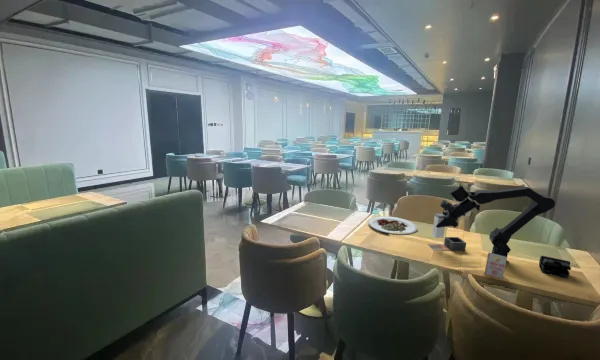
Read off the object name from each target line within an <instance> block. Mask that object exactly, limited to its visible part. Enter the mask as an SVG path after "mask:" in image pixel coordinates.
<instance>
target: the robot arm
mask: <svg viewBox="0 0 600 360" xmlns="http://www.w3.org/2000/svg"><path fill="white" fill-rule="evenodd" d="M449 195H451V197H452V198H453V199H454V200H455V202H459V203H458V204H457V203H455V204H452V203H451V202H449V201H447V200H446V199H442V201H441V202H440V204H439V205H440V208H442V209H443V210H442V214H444V219H443V220H442V221H441V222H440V223H439V224H437V225H436V227H437V228H439V227H445V228H446V227H453V228H457V227H458V226H459V222H458V220H459V219H460V218H461V217H462V216H463V217H465V216H466V214H468V213H469V212H471V211H472V210H474V209H476V210H477V211H478V212H479V211H480V208H481V205H485V204H488V203H491V202H495V201H496V200H505V199H513V198H514V199H515V198H522V197H523V198H524V197H527V198H529V199H531V202H530V203H529V206H528V207H527V208H526V209H525V210H523V211H522V212H521V213H520V214H519V215H518V216H516V217H515V218H514V219H513V220H511V221H510V222H509V223H508V224H506V225H505V226H504V227H502V228H499V227H495V228H494V230H493V231H490V234H489V237H488V238H489V240H490V242H491V243H492V249H491V253H493V254H497V255H501V256H505V257H507V258H508V255H509V253H510V252H511V250H512V249H511V247H510V246H509V245H508V243H509V242H510V240H511V238H512V236H513V235H515V234H516V233H517V232H518V231H519V230H521V228H523V227H525V226H526V225H527V224H528V223H529V222H531V220H533V219H534V218H536V217H537V216H538V215H541V214H544V213H547V212H549V211H550V210H552V209H553V208H555V206H556V202H555V199H553V198H551V197H549V196H547V195H546V194H539V193H538V192H537V191H534V190H533V189H532V188H530V187H529V186H522V187H514V188H507V189H499V190H489V189H478V190H475V191H467V190H466V189H465V188H464V186H463V185H462V184H460V185H458V186H455V187H453V188H451V190H449ZM506 264H510V260H507V259H506Z"/></svg>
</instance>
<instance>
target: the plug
mask: <svg viewBox="0 0 600 360" xmlns="http://www.w3.org/2000/svg"><path fill="white" fill-rule="evenodd" d="M443 219H444V214H443V213H434V219H433V226H432V227H433V228H432V234H431V235H432V236H433V237H435V238H436V239H438V238H439V239H443V238H444V236H445V228H446V227H439V228H437V227H436V225H437V224H439V223H440V222H441V221H442V220H443Z"/></svg>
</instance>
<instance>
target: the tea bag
mask: <svg viewBox="0 0 600 360" xmlns="http://www.w3.org/2000/svg"><path fill="white" fill-rule="evenodd" d="M507 258H508V256H507V257H505V256H501V255H497V254H493V253H492V252H488V253H487V258H486V264H485V270H484V275H485V276H486V275H487V276H489V275H490V277H493V278H496V279H500V280H503V279H504V273H505V269H506V265H507V263H506V259H507Z"/></svg>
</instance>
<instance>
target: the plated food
mask: <svg viewBox="0 0 600 360" xmlns="http://www.w3.org/2000/svg"><path fill="white" fill-rule="evenodd" d="M368 225H369V226H370V227H371V228H373V229H374V230H376V231H379V232H382V233H386V234H392V235H410V234H414V233H415V232H417V231H418V226H417V225H416V224H415V223H414V222H412V221H410V220H407V219H405V218H401V217H396V216H375V217H371V218H370V219H368Z"/></svg>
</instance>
